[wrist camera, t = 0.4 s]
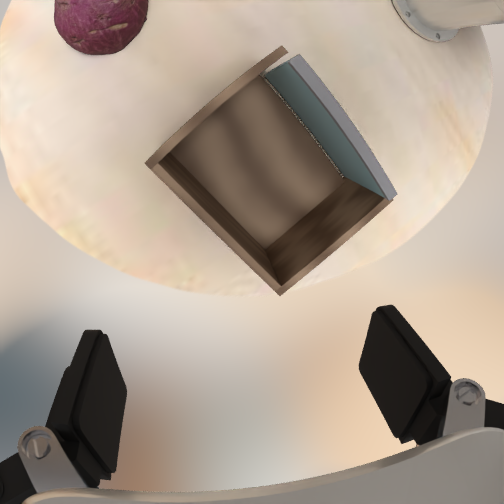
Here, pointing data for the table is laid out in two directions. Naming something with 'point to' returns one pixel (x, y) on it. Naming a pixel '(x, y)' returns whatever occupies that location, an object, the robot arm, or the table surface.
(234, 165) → the box
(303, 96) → the light blue panel
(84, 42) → the vegetable
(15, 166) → the table surface
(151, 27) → the table surface
